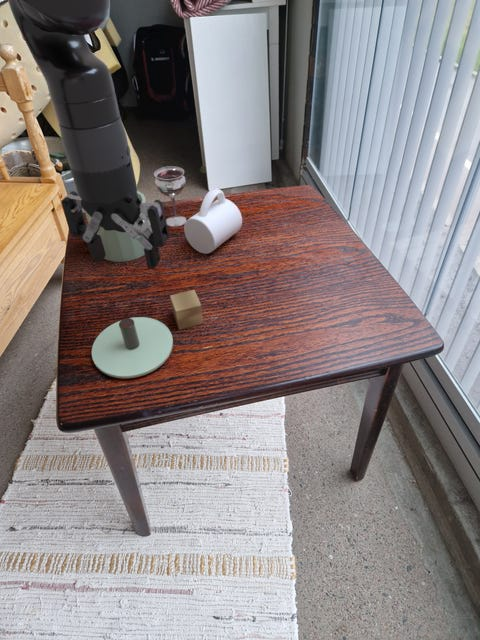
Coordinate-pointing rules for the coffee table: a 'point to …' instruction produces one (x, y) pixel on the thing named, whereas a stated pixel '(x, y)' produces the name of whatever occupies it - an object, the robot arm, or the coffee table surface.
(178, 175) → the wineglass
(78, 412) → the coffee table surface
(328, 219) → the coffee table surface
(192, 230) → the mug
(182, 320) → the block
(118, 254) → the jar
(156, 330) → the lid
